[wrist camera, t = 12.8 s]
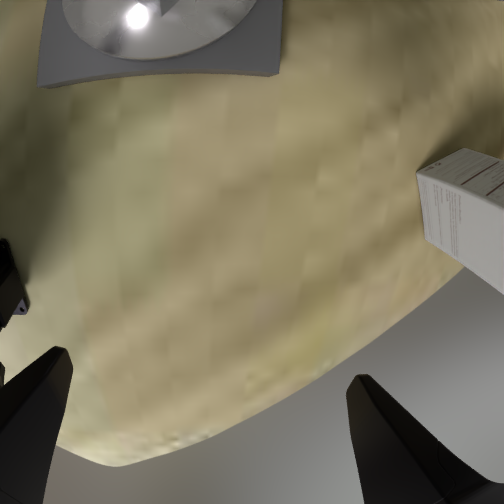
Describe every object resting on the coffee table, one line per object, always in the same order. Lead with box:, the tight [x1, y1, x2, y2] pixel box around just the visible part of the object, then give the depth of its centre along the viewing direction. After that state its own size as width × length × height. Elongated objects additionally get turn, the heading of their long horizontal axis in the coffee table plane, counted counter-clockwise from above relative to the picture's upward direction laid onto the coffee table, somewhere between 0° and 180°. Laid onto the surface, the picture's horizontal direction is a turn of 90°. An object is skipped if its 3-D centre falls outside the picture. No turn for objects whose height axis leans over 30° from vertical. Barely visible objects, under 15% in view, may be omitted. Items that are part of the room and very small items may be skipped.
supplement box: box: [416, 148, 504, 295], centre depth 18 cm, size 7×7×13 cm
